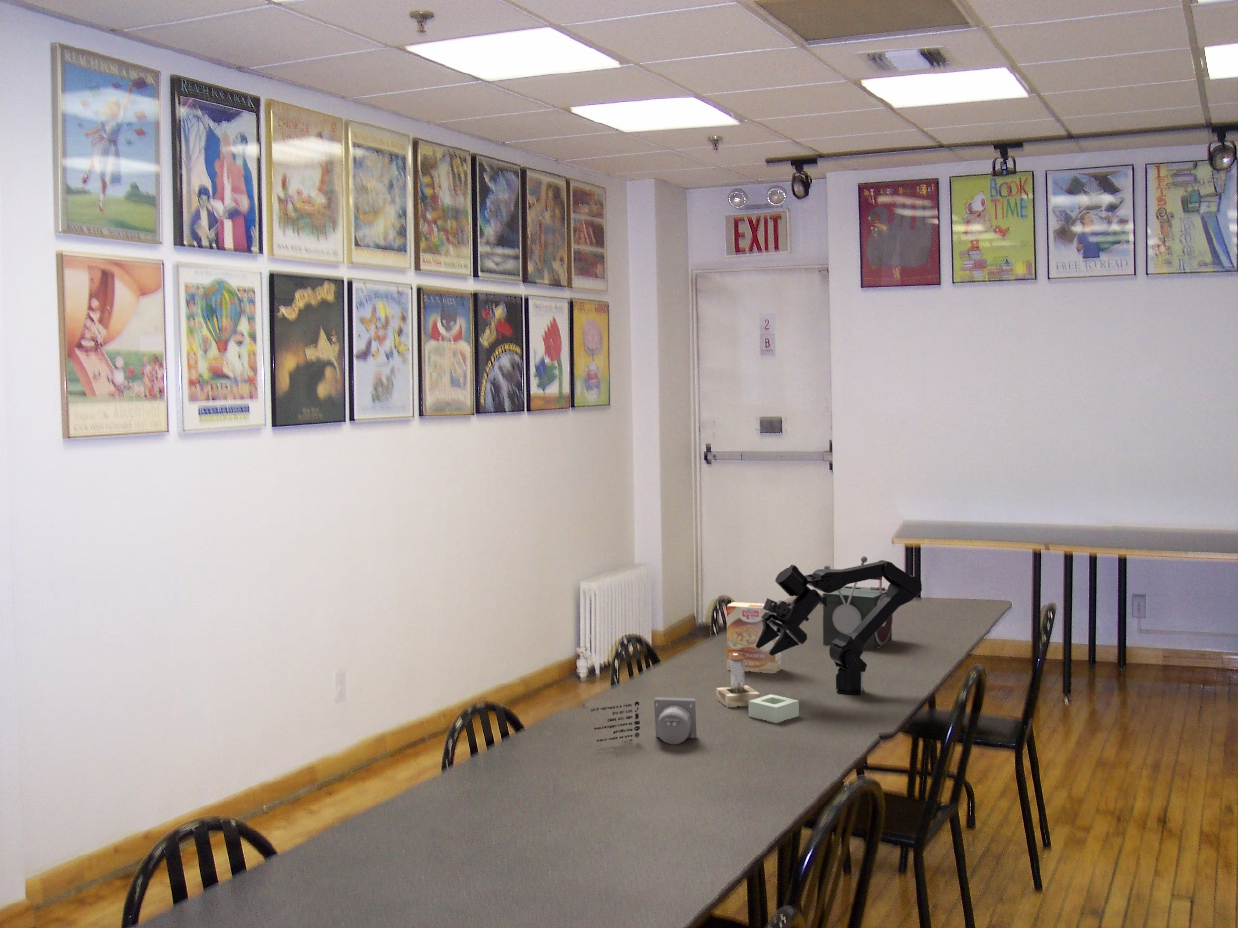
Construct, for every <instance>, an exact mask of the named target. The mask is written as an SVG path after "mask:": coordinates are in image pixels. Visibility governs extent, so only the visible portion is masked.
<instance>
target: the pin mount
mask: <svg viewBox="0 0 1238 928" xmlns="http://www.w3.org/2000/svg"><path fill="white" fill-rule="evenodd" d="M744 687H745V693H736V694H732V693H731V686H727V687H726V686H724V687H715V699H716V700H717V701H718V702H719V701H720V703H721V704H723V706H725V707H726V708H728V707H729V708H737V706H740V707H748V701H750V700H753V699H757V698H760V697H761V693H760V692H758V691H757V690H755V689H753V688H752V687H751V686H749V685H744Z"/></svg>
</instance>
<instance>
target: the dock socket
mask: <svg viewBox="0 0 1238 928" xmlns="http://www.w3.org/2000/svg"><path fill="white" fill-rule="evenodd" d="M799 701H800V700H797V699H794V698H788V697H784V696H780V695H776V694H771V693H770V694H768V695H764V696H760V698H757V699H753V700H750V701H748V706H747V707H748V717H750V718H753V719H757V720H761V719H762V721H765V720H766V721H765V722H770V723H774V724H779V723H782V722H784V720H785V721H788V720H790V719H793V718H797V717H800V715H799V714H800V713H799V711H800V709H799V706H800V703H799ZM787 719H788V720H787Z"/></svg>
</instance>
